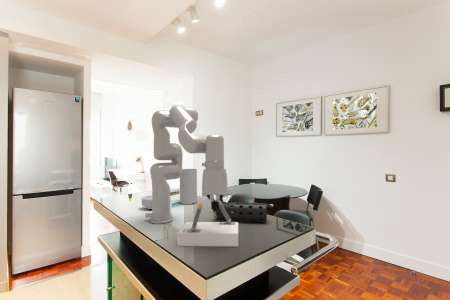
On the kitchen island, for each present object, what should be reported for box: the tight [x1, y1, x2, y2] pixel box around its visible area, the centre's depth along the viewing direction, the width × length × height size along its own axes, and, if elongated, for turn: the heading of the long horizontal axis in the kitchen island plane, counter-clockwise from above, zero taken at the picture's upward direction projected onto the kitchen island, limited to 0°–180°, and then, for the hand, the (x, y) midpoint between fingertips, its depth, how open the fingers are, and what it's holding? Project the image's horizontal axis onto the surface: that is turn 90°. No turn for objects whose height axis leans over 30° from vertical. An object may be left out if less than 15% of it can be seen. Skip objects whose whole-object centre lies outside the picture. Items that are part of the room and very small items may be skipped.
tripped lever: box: [191, 203, 204, 231], centre depth 99 cm, size 2×4×11 cm, turn 176°
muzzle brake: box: [212, 200, 268, 223], centre depth 131 cm, size 10×28×10 cm, turn 78°
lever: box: [219, 200, 232, 224], centre depth 109 cm, size 2×4×11 cm
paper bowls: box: [141, 194, 152, 210], centre depth 164 cm, size 15×15×8 cm
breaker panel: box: [176, 221, 239, 247], centre depth 104 cm, size 24×16×5 cm
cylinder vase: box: [179, 168, 198, 205], centre depth 181 cm, size 12×12×25 cm
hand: (215, 210), depth 99 cm, fingers closed
